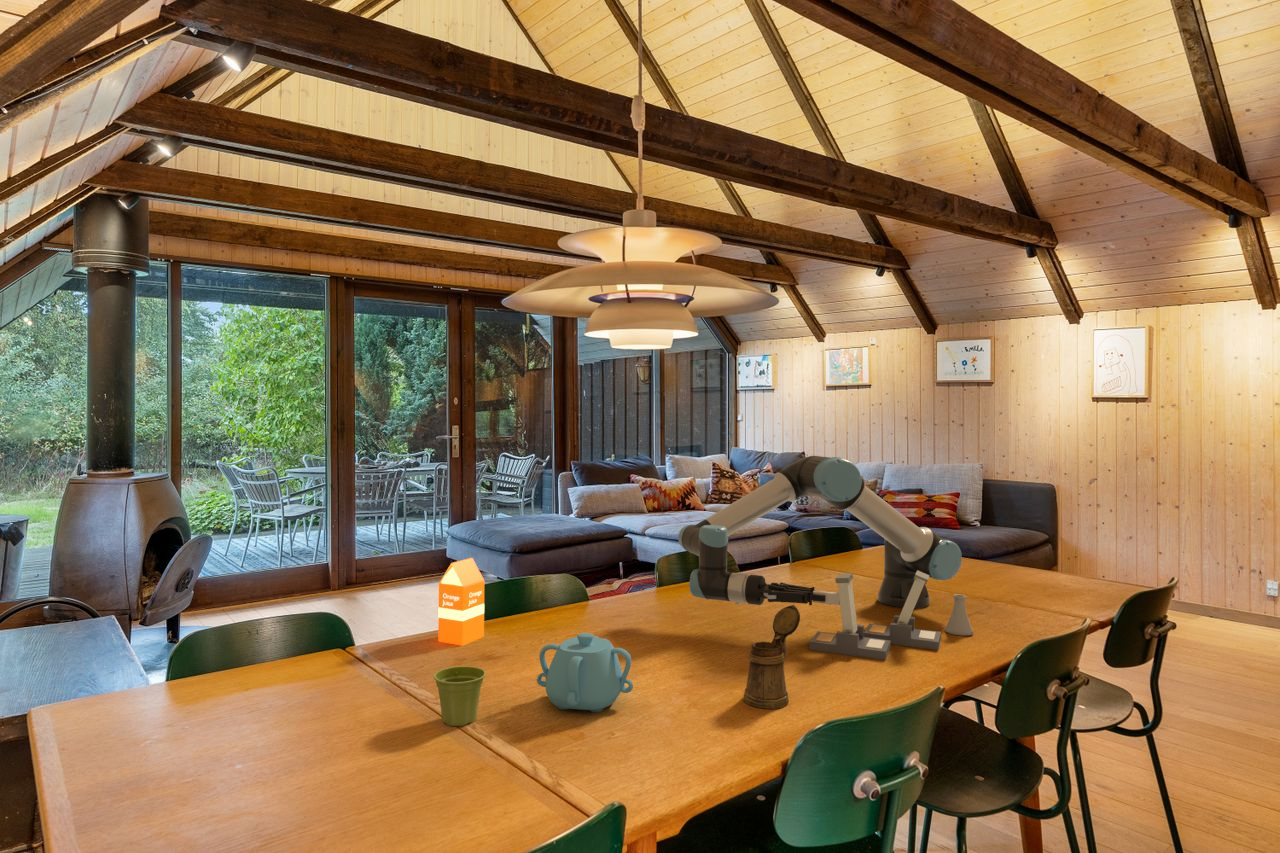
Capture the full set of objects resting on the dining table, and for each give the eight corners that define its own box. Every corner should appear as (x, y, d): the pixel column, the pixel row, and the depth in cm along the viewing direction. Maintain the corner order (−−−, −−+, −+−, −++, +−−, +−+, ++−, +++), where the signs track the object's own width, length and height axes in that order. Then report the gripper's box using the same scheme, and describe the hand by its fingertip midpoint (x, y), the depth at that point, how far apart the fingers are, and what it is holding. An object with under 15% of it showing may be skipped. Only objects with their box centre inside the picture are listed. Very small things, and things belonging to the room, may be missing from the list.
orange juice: (484, 636, 196) (485, 558, 195) (462, 645, 188) (463, 564, 187) (459, 632, 199) (460, 555, 199) (437, 641, 191) (438, 561, 191)
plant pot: (438, 710, 146) (438, 665, 146) (488, 710, 147) (488, 665, 147) (428, 731, 137) (429, 682, 137) (482, 730, 138) (482, 682, 137)
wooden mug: (811, 696, 156) (812, 608, 156) (769, 712, 147) (771, 619, 147) (776, 684, 163) (777, 600, 163) (734, 699, 154) (735, 610, 154)
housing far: (863, 640, 196) (863, 621, 196) (869, 630, 205) (869, 612, 205) (938, 650, 188) (938, 630, 188) (940, 639, 198) (941, 620, 198)
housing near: (809, 649, 188) (809, 629, 188) (817, 638, 197) (818, 619, 197) (885, 660, 180) (885, 639, 180) (890, 648, 189) (891, 628, 189)
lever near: (842, 638, 186) (835, 578, 187) (846, 632, 192) (839, 573, 192) (855, 638, 185) (848, 577, 186) (859, 632, 191) (852, 573, 191)
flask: (968, 629, 208) (969, 593, 208) (977, 637, 200) (978, 599, 200) (941, 628, 208) (941, 592, 208) (949, 636, 201) (949, 598, 201)
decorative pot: (639, 710, 148) (641, 640, 148) (562, 724, 140) (563, 650, 140) (603, 683, 162) (605, 620, 162) (532, 695, 155) (533, 628, 155)
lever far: (893, 626, 195) (915, 574, 193) (896, 621, 200) (917, 570, 198) (905, 632, 194) (927, 579, 191) (908, 626, 199) (929, 575, 197)
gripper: (755, 598, 205) (844, 608, 195) (740, 608, 193) (834, 620, 183) (755, 570, 205) (844, 579, 195) (740, 579, 193) (834, 589, 183)
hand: (839, 599), depth 189 cm, fingers closed
